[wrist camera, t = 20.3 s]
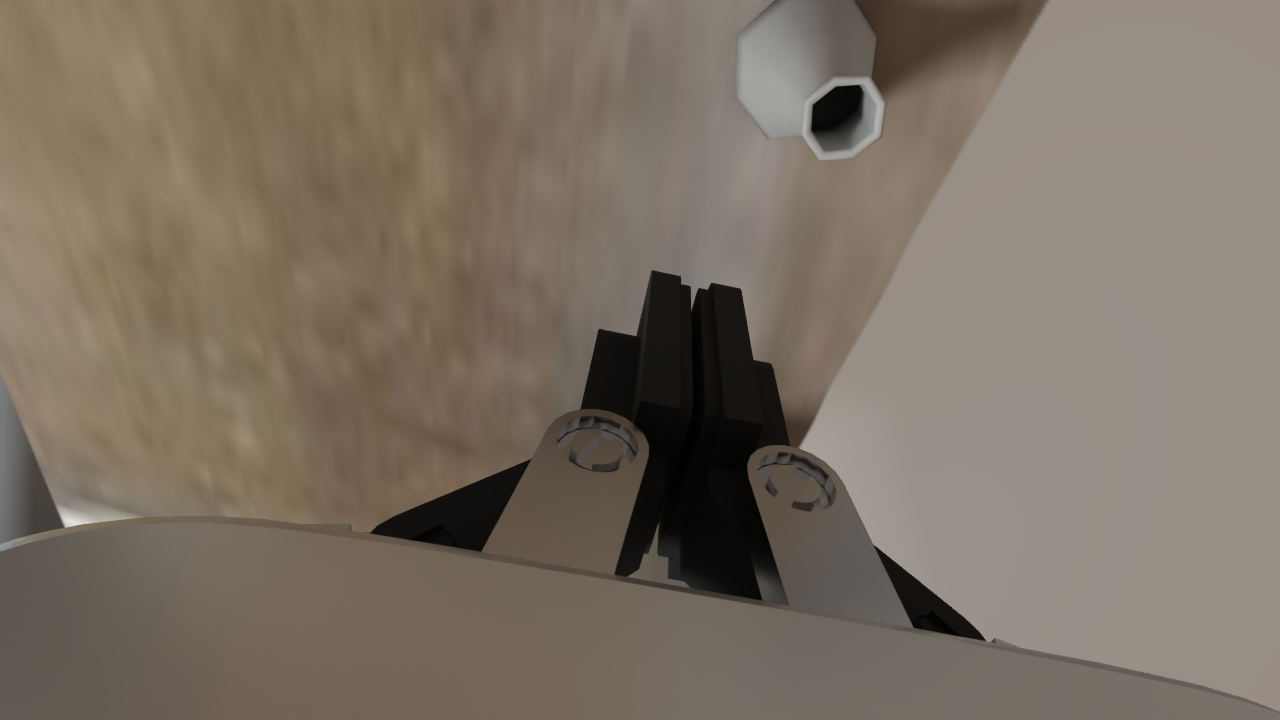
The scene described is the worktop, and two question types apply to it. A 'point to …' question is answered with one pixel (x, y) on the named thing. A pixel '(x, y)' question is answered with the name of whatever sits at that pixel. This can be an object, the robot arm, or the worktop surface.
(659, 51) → the worktop surface
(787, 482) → the robot arm
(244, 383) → the worktop surface
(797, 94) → the flask
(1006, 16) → the worktop surface
